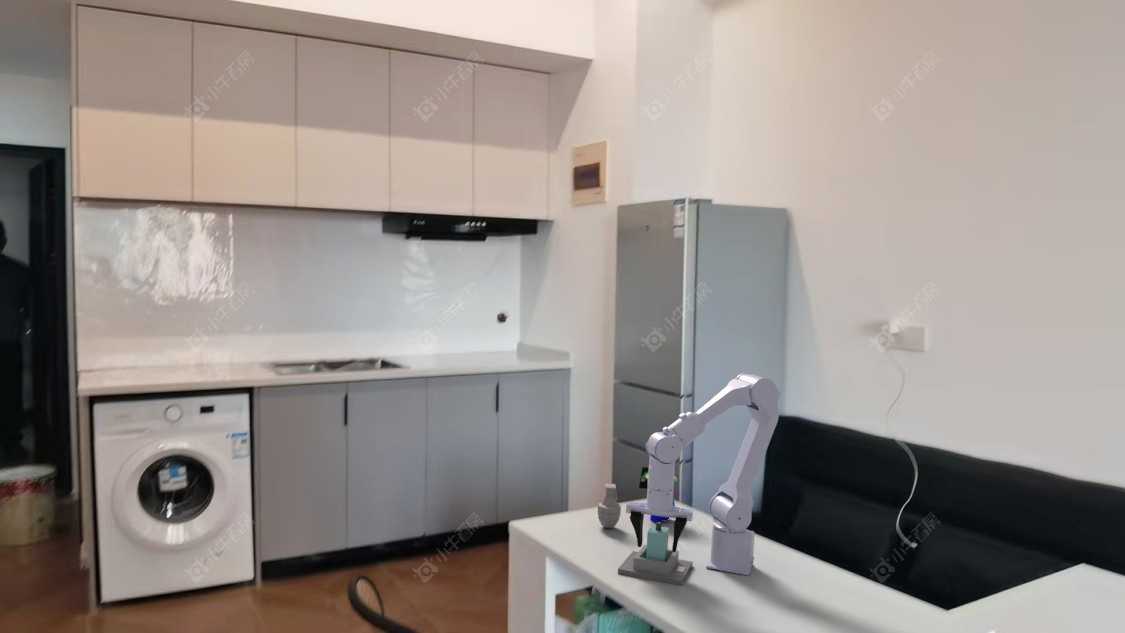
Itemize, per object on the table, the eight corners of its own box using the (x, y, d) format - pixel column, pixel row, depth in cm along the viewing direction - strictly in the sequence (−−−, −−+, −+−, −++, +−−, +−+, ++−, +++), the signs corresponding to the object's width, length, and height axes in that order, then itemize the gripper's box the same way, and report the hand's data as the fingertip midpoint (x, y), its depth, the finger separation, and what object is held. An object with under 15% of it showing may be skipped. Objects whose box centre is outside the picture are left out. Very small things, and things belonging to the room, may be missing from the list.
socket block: (692, 566, 175) (693, 551, 175) (681, 585, 164) (682, 569, 164) (632, 555, 180) (633, 540, 180) (617, 573, 169) (618, 557, 169)
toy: (657, 511, 214) (660, 458, 213) (682, 520, 207) (685, 465, 206) (634, 517, 208) (637, 462, 207) (659, 526, 201) (663, 470, 200)
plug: (666, 562, 174) (669, 521, 173) (663, 570, 169) (666, 528, 168) (649, 559, 175) (651, 518, 174) (645, 567, 170) (648, 525, 169)
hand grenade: (620, 532, 196) (622, 489, 195) (597, 530, 196) (599, 488, 195) (618, 523, 202) (621, 482, 201) (596, 522, 202) (598, 481, 201)
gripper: (695, 487, 173) (691, 546, 174) (631, 479, 177) (628, 537, 177) (692, 495, 166) (688, 557, 167) (625, 487, 170) (622, 547, 171)
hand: (657, 548), depth 172 cm, fingers open, 7 cm apart
